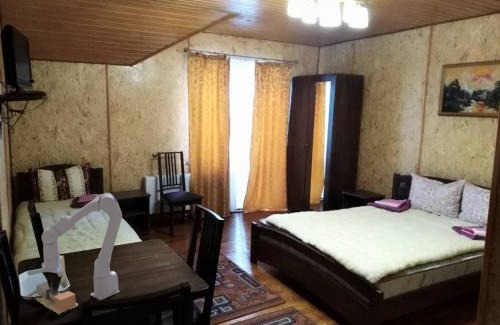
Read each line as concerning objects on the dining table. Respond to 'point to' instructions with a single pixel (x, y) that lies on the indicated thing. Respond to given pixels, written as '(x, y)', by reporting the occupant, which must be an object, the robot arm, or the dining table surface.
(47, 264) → the robot arm
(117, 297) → the dining table surface
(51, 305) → the birch board
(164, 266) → the dining table surface
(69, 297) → the socket block
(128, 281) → the dining table surface
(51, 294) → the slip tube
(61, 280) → the skincare box
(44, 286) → the grey sleeve
